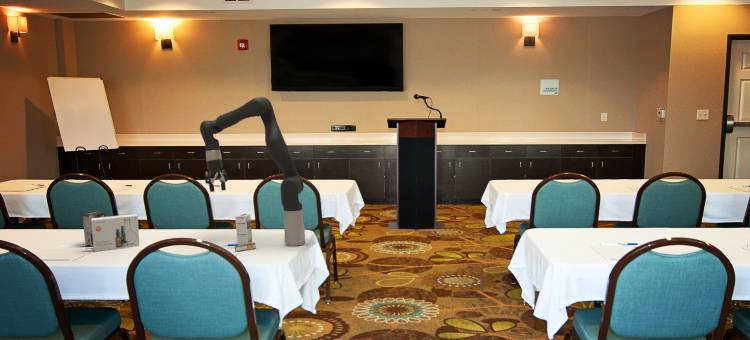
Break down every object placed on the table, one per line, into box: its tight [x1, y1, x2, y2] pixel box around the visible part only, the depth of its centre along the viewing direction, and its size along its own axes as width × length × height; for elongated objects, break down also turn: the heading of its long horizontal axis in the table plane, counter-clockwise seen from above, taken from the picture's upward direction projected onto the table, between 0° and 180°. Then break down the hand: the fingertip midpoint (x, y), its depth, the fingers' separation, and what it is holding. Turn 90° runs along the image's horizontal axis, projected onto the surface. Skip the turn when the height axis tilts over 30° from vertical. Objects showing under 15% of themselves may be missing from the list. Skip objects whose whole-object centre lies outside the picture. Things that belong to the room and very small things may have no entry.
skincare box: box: [91, 213, 140, 252], centre depth 298 cm, size 21×5×16 cm, turn 117°
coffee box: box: [82, 211, 107, 247], centre depth 307 cm, size 9×6×16 cm
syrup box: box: [235, 213, 253, 245], centre depth 300 cm, size 6×6×14 cm
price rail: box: [234, 242, 257, 253], centre depth 287 cm, size 10×2×2 cm, turn 123°
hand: (218, 191), depth 305 cm, fingers open, 8 cm apart
